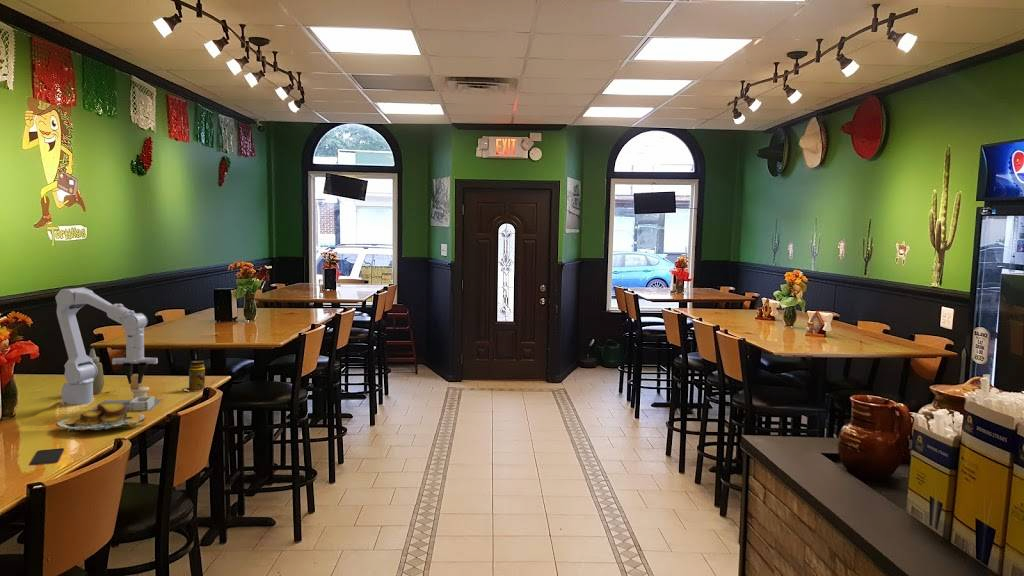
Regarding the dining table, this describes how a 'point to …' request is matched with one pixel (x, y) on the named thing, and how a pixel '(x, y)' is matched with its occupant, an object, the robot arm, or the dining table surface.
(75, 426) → the food on plate
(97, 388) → the squeeze bottle
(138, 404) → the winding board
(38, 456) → the smartphone
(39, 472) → the dining table surface
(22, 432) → the dining table surface
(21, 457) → the dining table surface
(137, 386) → the tan small block
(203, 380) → the condiment
